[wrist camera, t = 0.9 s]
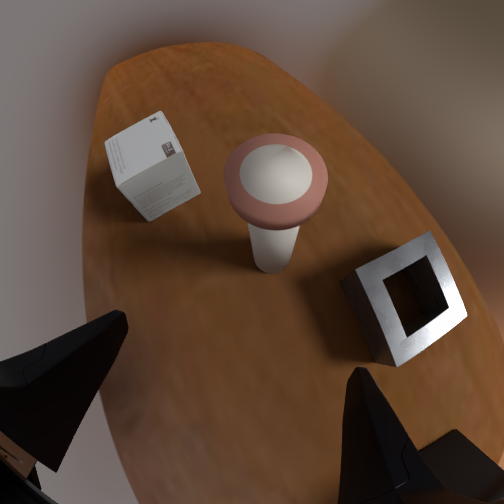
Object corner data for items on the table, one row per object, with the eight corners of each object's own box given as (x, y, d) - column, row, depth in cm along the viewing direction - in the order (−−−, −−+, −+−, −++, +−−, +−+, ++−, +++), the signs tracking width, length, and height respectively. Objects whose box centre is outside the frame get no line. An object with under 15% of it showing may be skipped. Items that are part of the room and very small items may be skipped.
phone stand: (408, 455, 17) (477, 503, 6) (455, 428, 18) (530, 453, 6) (411, 509, 15) (461, 558, 3) (454, 483, 15) (512, 517, 4)
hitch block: (439, 320, 21) (467, 315, 17) (375, 362, 21) (397, 367, 16) (407, 247, 24) (430, 230, 19) (339, 281, 23) (355, 269, 19)
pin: (307, 268, 24) (346, 197, 11) (258, 290, 23) (246, 236, 11) (285, 223, 25) (298, 123, 13) (237, 242, 25) (210, 152, 12)
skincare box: (132, 181, 28) (101, 141, 20) (181, 154, 28) (160, 107, 21) (149, 224, 26) (114, 188, 19) (203, 194, 26) (183, 148, 19)
